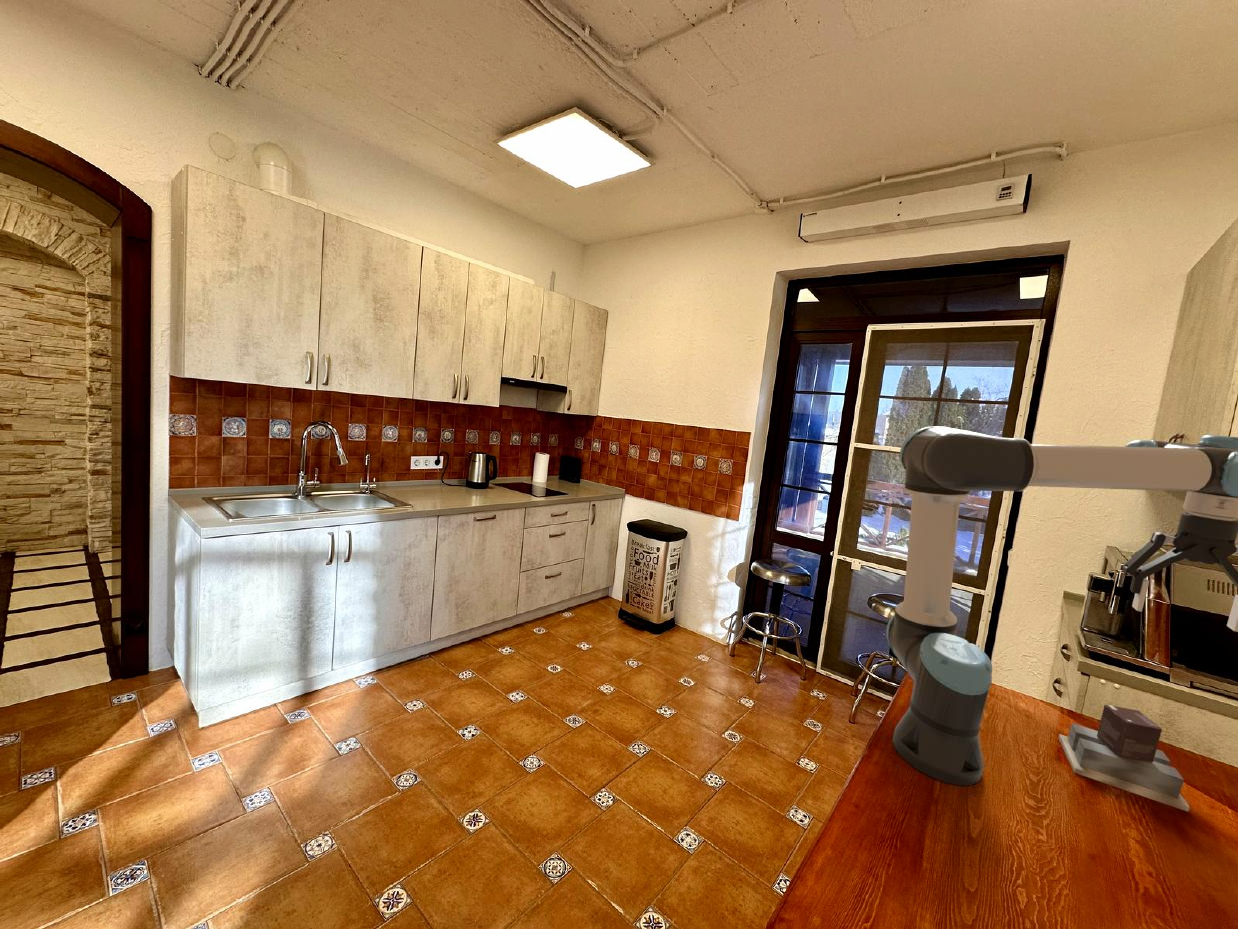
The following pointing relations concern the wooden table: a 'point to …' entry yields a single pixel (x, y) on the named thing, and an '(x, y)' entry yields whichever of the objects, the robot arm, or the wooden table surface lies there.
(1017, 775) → the wooden table surface
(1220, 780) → the wooden table surface
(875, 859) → the wooden table surface
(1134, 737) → the box
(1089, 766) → the stand
